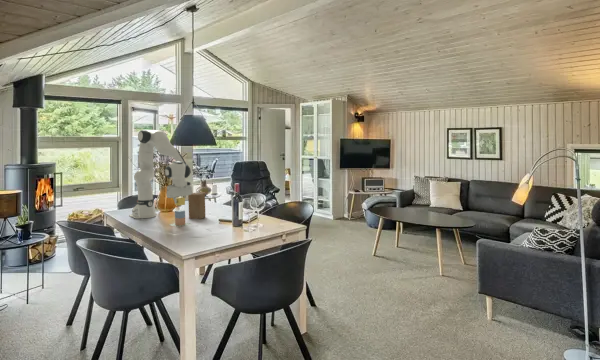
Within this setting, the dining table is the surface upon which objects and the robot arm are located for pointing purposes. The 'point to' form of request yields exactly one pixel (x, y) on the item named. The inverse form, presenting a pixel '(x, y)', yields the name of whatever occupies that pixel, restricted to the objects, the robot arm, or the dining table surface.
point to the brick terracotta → (179, 221)
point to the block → (196, 205)
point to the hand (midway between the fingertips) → (179, 202)
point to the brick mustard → (180, 201)
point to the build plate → (180, 225)
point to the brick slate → (180, 214)
